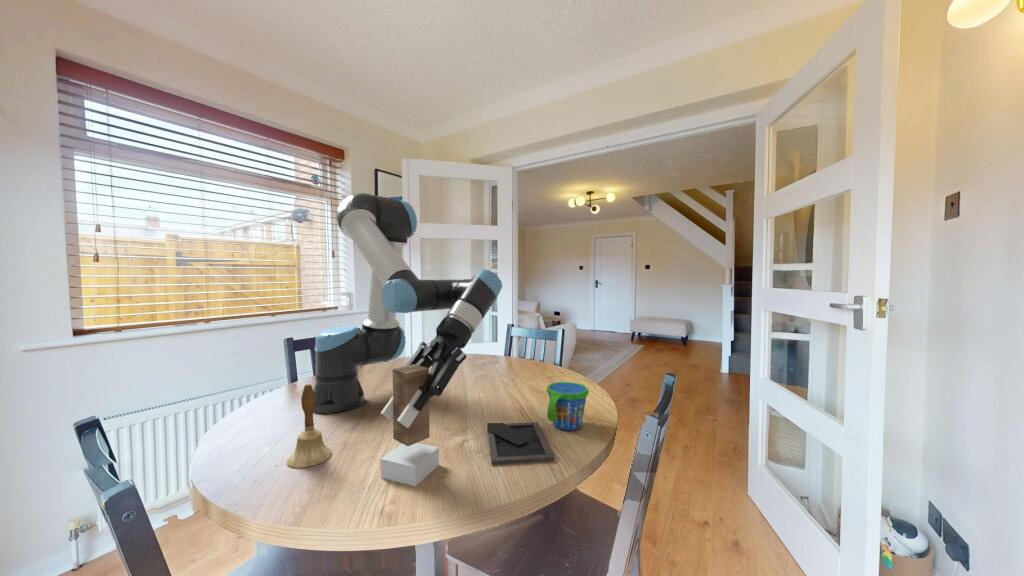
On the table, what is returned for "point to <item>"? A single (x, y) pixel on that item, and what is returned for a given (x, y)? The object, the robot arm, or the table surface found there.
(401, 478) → the white block
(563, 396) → the snack cup
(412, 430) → the walnut block
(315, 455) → the hand bell
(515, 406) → the table surface
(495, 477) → the table surface
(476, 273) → the robot arm
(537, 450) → the picture frame
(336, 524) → the table surface
